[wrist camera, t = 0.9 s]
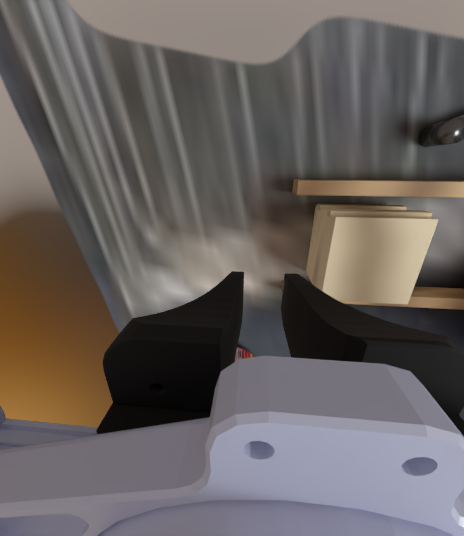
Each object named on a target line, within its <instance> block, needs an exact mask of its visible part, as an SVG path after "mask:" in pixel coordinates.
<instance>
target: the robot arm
mask: <svg viewBox="0 0 464 536" xmlns="http://www.w3.org/2000/svg"><path fill="white" fill-rule="evenodd" d="M243 285H244V272H233V271H232V272H231V273H230V274H229V275H228V276H227V277H226V278H225V279H224V280H222V281H221V282H220V283H219V284H218V285H217V286H215V287H214V288H213V289H212V290H210V291H209V292H207V293H206V294H204V295H203V296H201V297H199V298H197V299H195V300H194V301H191V302H189V303H187V304H184V305H182V306H180V307H177V308H174V309H171V310H168V311H165V312H161V313H157V314H153V315H148V316H143V317H138V318H133V319H132V320H131V321H130V322H129V323H128V324H127V326H126V327H125V328H124V329H123V330H122V332H121V333H120V334H119V335H118V337H117V338H116V339H115V340H114V342H113V343H112V344H111V345H110V347H109V348H108V349H107V351H106V352H105V355H104V359H103V368H104V373H105V376H106V380H107V383H108V386H109V390H110V393H111V397H112V400H113V404H112V405H111V407H110V409H109V410H108V412H107V414H106V415H105V417H104V419H103V420H102V422H101V424H100V425H99V427H98V428H97V427H87V426H76V425H67V424H57V423H47V422H37V421H26V420H16V419H6V418H5V414H4V411H3V409H2V408H1V406H0V536H464V421H463V419H462V418H461V417H460V416H459V413H460V412H461V410H462V408H463V407H464V352H463V351H462V350H461V349H460V348H459V347H458V346H456V345H455V344H454V343H453V342H452V341H451V340H450V339H449V338H447V337H445V336H441V335H437V334H432V333H428V332H424V331H420V330H416V329H411V328H408V327H404V326H401V325H397V324H394V323H391V322H388V321H385V320H382V319H379V318H376V317H373V316H371V315H368V314H366V313H363V312H361V311H358V310H356V309H354V308H352V307H350V306H348V305H346V304H344V303H341V302H340V301H338V300H336V299H334V298H333V297H331V296H329V295H328V294H326V293H324V292H323V291H321V290H320V289H318V288H317V287H315V286H314V285H313V284H311V283H310V282H308V281H307V280H306V279H304V278H303V277H301V276H300V275H298V274H285V277H284V286H283V296H282V305H281V312H282V321H283V327H284V331H285V335H286V338H287V342H288V346H289V350H290V354H291V357H292V358H290V357H276V356H260V357H252V358H245V359H239V360H237V361H236V362H235V356H236V351H237V345H238V340H239V335H240V330H241V324H242V313H243Z"/></svg>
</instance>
